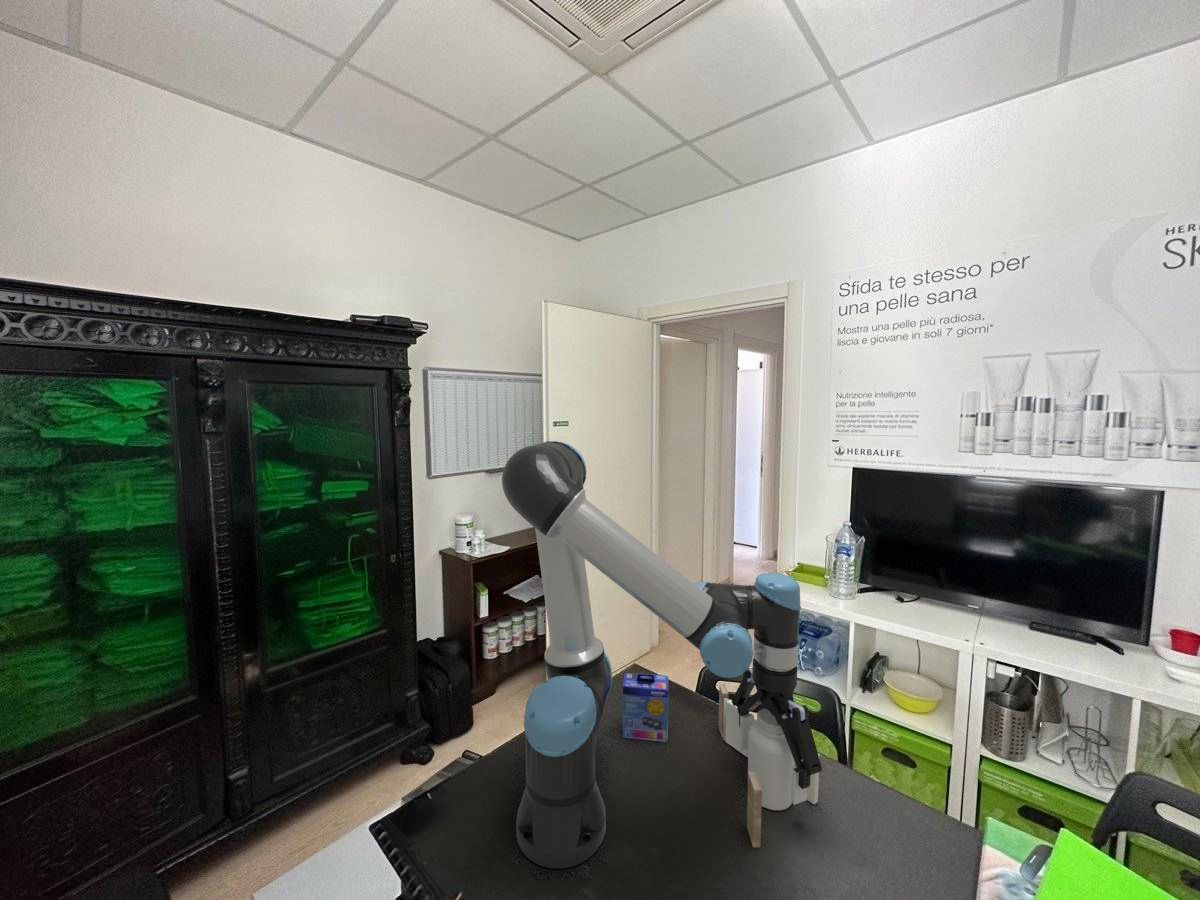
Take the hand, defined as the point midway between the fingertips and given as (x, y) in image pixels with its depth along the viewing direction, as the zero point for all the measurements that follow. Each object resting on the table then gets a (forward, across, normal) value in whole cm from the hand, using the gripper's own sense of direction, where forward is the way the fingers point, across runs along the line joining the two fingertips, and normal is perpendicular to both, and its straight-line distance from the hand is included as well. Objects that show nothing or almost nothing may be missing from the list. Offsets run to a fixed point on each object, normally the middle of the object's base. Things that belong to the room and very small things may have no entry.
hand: (770, 772), depth 86 cm
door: (+4, -5, +3) cm, 7 cm away
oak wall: (+4, -5, -3) cm, 8 cm away
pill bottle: (+4, 0, 0) cm, 4 cm away
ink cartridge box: (+5, -23, -14) cm, 27 cm away
